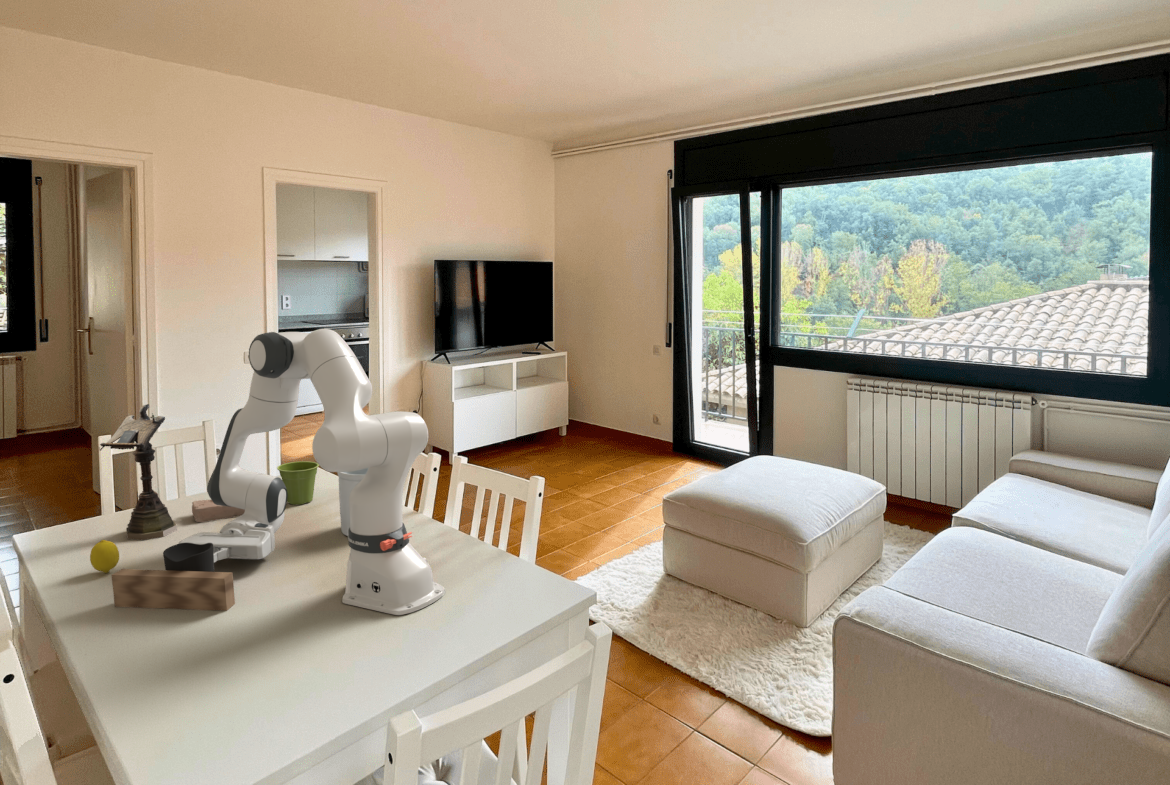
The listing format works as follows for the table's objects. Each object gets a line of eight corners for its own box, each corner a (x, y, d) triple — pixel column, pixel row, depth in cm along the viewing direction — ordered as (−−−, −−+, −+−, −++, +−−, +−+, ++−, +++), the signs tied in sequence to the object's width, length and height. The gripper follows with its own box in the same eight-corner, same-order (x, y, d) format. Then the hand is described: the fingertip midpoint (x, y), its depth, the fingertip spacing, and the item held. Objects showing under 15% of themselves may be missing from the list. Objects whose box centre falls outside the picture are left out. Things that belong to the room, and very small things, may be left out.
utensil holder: (386, 516, 200) (384, 457, 197) (404, 532, 188) (402, 469, 185) (334, 526, 192) (330, 464, 189) (348, 543, 180) (345, 477, 177)
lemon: (95, 569, 162) (92, 537, 161) (123, 566, 164) (120, 534, 163) (88, 579, 157) (84, 545, 156) (117, 575, 159) (113, 542, 158)
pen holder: (206, 579, 158) (202, 537, 156) (223, 591, 152) (220, 548, 150) (160, 593, 151) (156, 549, 149) (177, 606, 145) (172, 561, 143)
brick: (254, 505, 209) (252, 490, 209) (260, 513, 203) (258, 498, 202) (192, 516, 200) (190, 501, 199) (196, 525, 193) (194, 508, 192)
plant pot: (324, 504, 211) (322, 468, 209) (281, 510, 205) (279, 473, 203) (317, 493, 221) (315, 459, 219) (277, 499, 215) (274, 463, 213)
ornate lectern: (147, 548, 175) (133, 412, 169) (100, 545, 177) (85, 410, 171) (192, 525, 191) (181, 400, 186) (149, 523, 193) (136, 399, 187)
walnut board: (235, 603, 146) (232, 572, 145) (227, 610, 143) (224, 578, 142) (124, 600, 147) (121, 568, 146) (114, 606, 144) (111, 574, 143)
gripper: (197, 523, 170) (160, 544, 156) (279, 525, 169) (249, 547, 155) (199, 547, 171) (163, 571, 157) (280, 550, 170) (251, 574, 156)
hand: (206, 559), depth 156 cm, fingers closed
